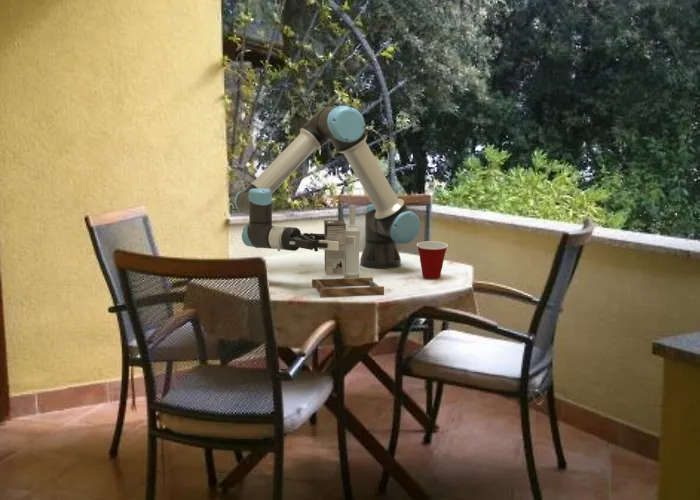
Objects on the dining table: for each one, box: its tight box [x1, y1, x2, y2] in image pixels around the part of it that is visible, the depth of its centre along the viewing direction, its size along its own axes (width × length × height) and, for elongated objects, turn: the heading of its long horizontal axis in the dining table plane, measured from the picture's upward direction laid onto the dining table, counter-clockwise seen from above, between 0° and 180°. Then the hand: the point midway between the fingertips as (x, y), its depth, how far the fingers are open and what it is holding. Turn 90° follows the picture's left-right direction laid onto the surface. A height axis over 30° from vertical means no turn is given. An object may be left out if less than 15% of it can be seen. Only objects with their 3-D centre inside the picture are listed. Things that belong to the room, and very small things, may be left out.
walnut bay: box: [311, 276, 385, 298], centre depth 252 cm, size 20×15×2 cm
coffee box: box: [323, 219, 347, 276], centre depth 249 cm, size 9×6×16 cm
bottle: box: [343, 204, 361, 278], centre depth 271 cm, size 5×5×25 cm
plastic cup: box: [416, 240, 449, 280], centre depth 273 cm, size 11×11×12 cm
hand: (346, 243), depth 247 cm, fingers closed on coffee box, 11 cm apart
